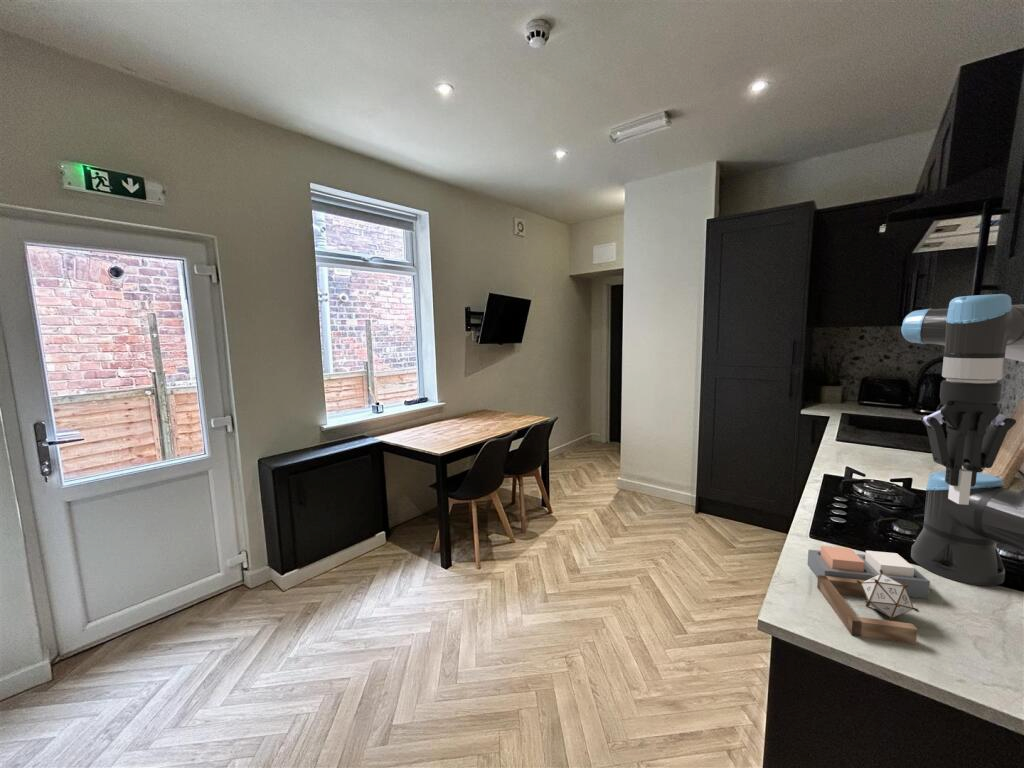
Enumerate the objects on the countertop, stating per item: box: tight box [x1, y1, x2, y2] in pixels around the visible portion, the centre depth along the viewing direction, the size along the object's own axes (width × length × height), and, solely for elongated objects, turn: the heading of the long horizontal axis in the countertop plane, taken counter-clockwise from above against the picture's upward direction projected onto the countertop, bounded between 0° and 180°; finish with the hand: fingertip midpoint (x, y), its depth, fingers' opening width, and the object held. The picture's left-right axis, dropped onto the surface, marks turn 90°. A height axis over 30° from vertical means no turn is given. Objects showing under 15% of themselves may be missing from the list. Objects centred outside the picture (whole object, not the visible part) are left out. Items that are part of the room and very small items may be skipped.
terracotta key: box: [820, 545, 865, 572], centre depth 95 cm, size 6×6×3 cm
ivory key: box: [864, 550, 915, 577], centre depth 92 cm, size 6×6×3 cm
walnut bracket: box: [816, 575, 918, 645], centre depth 83 cm, size 10×15×3 cm, turn 164°
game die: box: [856, 569, 920, 621], centre depth 83 cm, size 9×8×10 cm
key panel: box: [807, 549, 931, 600], centre depth 94 cm, size 19×9×4 cm, turn 74°
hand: (958, 501), depth 78 cm, fingers closed
